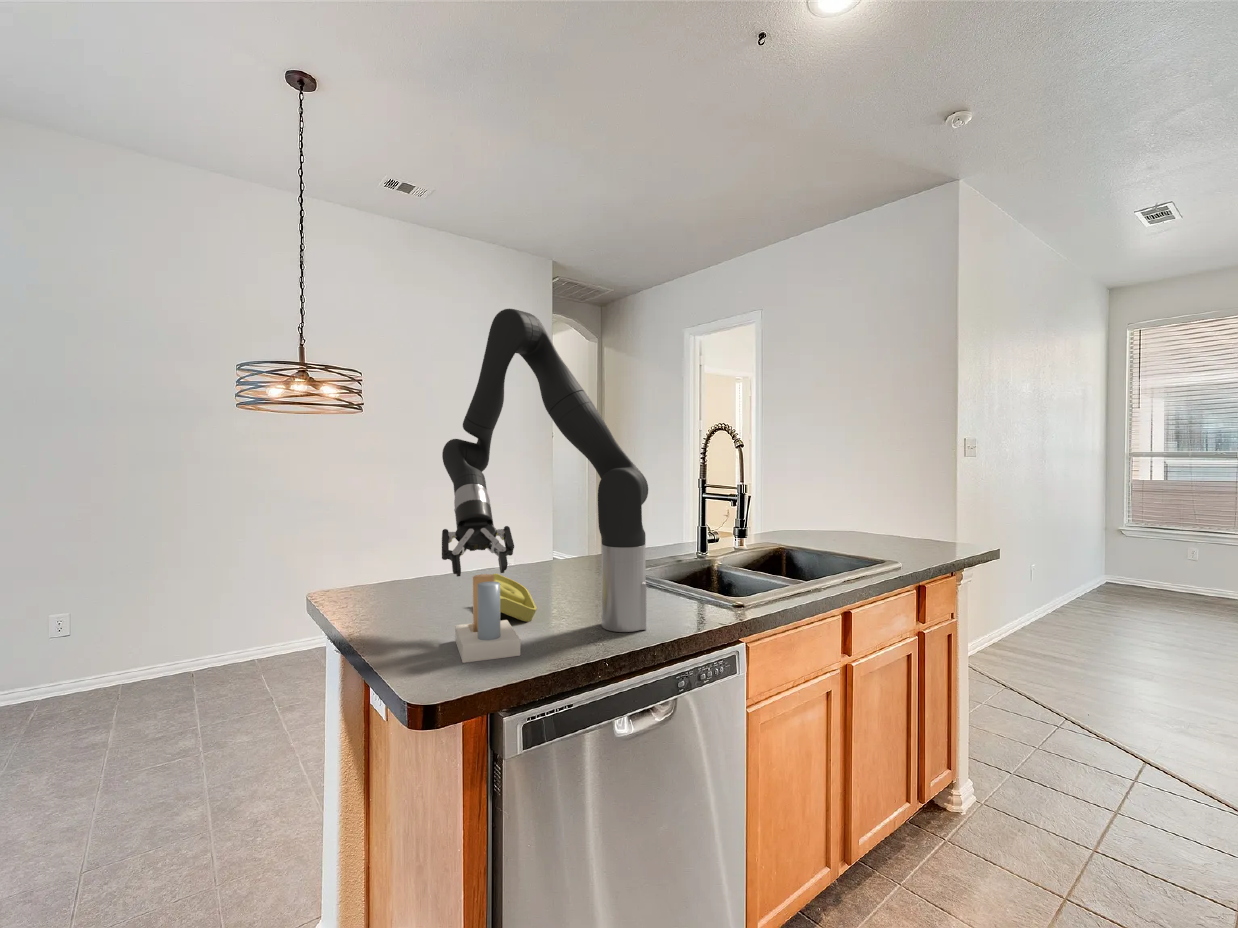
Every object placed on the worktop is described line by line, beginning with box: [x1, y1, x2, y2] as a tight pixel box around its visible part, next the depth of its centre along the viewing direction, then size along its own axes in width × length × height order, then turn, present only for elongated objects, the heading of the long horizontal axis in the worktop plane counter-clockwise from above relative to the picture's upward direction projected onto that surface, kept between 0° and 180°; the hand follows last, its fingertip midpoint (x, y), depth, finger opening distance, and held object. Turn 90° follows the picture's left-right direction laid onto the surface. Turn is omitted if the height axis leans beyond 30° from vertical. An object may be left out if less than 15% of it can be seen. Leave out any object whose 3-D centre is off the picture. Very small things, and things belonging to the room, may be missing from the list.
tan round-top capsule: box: [472, 573, 494, 632], centre depth 111 cm, size 4×4×12 cm
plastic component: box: [492, 573, 538, 623], centre depth 132 cm, size 20×7×10 cm
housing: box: [454, 582, 521, 664], centre depth 108 cm, size 13×10×13 cm
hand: (481, 572), depth 114 cm, fingers open, 8 cm apart
